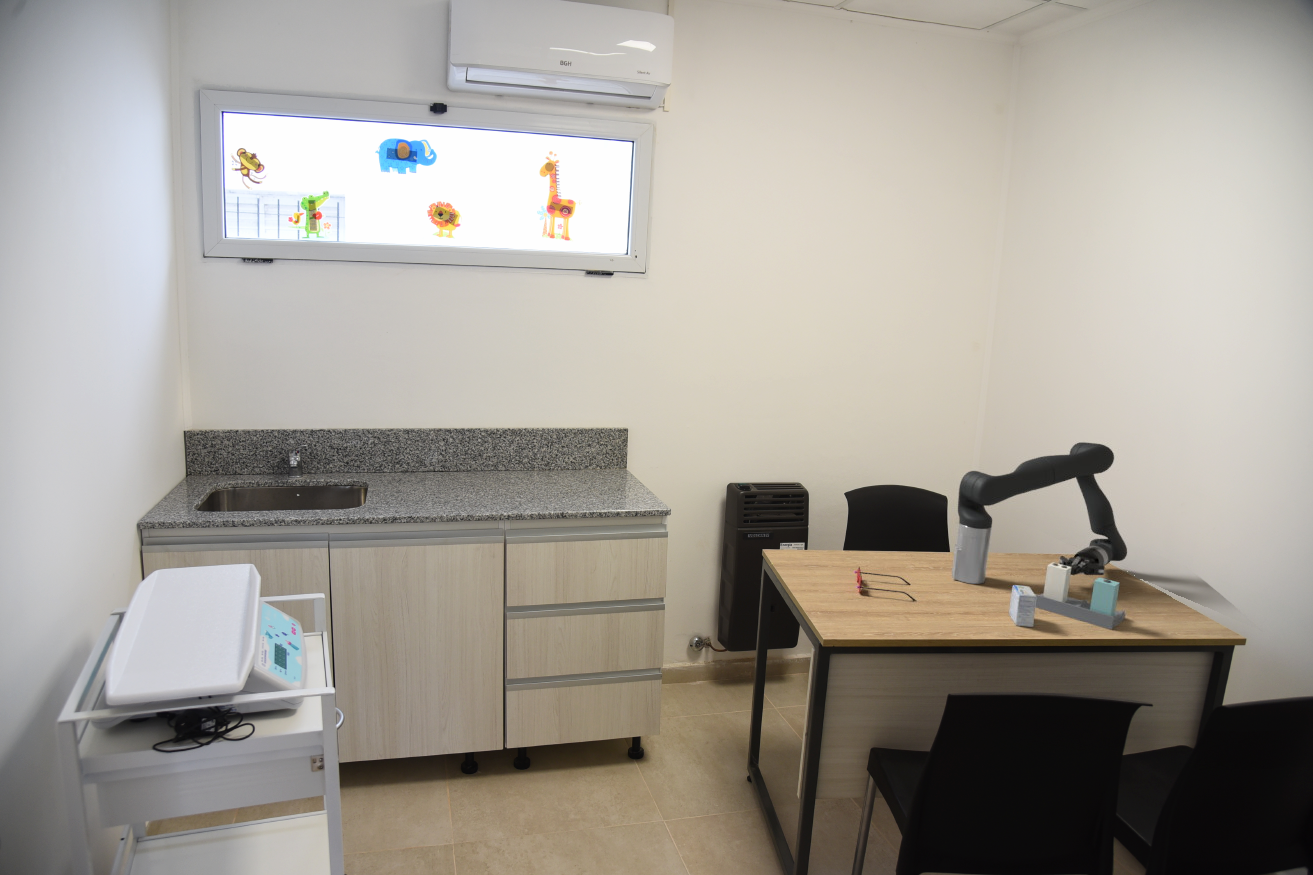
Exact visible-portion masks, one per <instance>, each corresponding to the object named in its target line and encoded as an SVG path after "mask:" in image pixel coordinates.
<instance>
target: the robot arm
mask: <svg viewBox="0 0 1313 875" xmlns="http://www.w3.org/2000/svg"><path fill="white" fill-rule="evenodd" d="M1114 460H1115V455H1114V452H1113V450H1112V449H1111V448H1110V447H1108V445H1105V444H1101V443H1095V442H1093V443H1092V442H1085V441H1084V442H1083V441H1082V442H1077V443H1075V444H1074V445H1072V447H1071V448H1070V451H1069V454H1057V455H1056V454H1054V455H1044V456H1039V457H1036V458H1035V457H1034V458H1032V459H1029V460H1025V461H1023V462H1021V463H1020V464H1019V465H1018V466H1017V467H1016V468H1015V469H1014V471H1013V472H1009V473H1005V474H1001V475H990V474H988V473H984V472H981V471H977V470H971V471H968V472H966V473H965V474H964V475H963V477H962V478H961V481H960V484H959V488H958V497H957V498H958V499H957V500H958V501H957V513H958V517H959V520H958V521H959V522H958V528H957V536H956V544H955V546H954V553H953V561H952V570H951V576H952V578H953V580H955V581H959V582H961V583H967V584H974V585H975V584H976V585H978V584H979V585H981V584H984V583H985V580H986V574H987V564H988V557H989V549H990V541H991V534H992V527H993V517H992V516H991V515H990V514H989V513H988V511H987V510H986V508H985V506H988V507H989V506H994V505H996V504H999V503H1001V502H1003V501H1006V500H1007V499H1010V498H1012V497H1015V496H1018V495H1022V494H1025V493H1028V492H1032V491H1036V490H1040V489H1043V488H1047V487H1048V488H1049V487H1051V486H1054V485H1056V484H1059V483H1064V482H1066V481H1069V480H1073V479H1076V481H1077V484H1078V487H1079V490H1080V492H1081V494H1082V496H1083V500H1084V503H1085V506H1086V510H1087V515H1088V519H1089V525H1090V530H1091V532H1092V533H1094V534H1096V535H1098V536H1099V535H1100V536H1103V537H1105V538H1095V539H1092V540H1090V542H1089V546H1087V547H1084V548H1083V549H1080V550H1079V551H1078V552H1075V554H1074V556H1071V557H1069V558H1068V557H1065V556H1064V555H1060V556H1059V563H1058V564H1061V565H1065V566H1069V567H1072V568H1071V574H1070V576H1075V575H1081V574H1083V575H1085V576H1104V573H1105V568H1106V566H1107V565H1108V564H1110V562H1120V561H1121V562H1122V561H1123V560H1125V559H1126V557H1127V555H1128V548H1127V544H1126V543H1125V541H1124V539H1123V537H1122V536H1121V534H1120V532H1119V530H1118V527H1117V525H1116V520H1115V515H1114V510H1113V507H1112V505H1111V503H1110V501H1109V499H1108V497H1107V496H1106V494H1105V493H1104V492H1103V490H1102V488H1101V487H1100V485H1099V484H1098V482H1097V479H1096V477H1095V475H1097V474H1102V473H1105V472H1107V471H1108V470H1109V469H1110V468H1111V467H1112V465H1113V464H1114Z"/></svg>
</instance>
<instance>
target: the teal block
mask: <svg viewBox="0 0 1313 875" xmlns="http://www.w3.org/2000/svg"><path fill="white" fill-rule="evenodd" d="M1119 590H1120V582H1118V581H1115V580H1111V579H1106V578H1103V577H1098V578H1096V579H1095V580H1093V588H1092V594H1091V595H1092V596H1091V599H1090V600H1091V602H1090V603H1091V607H1090V610H1092V611H1096V612H1099V613H1103V614H1106V615H1110V616H1113V617H1114V615H1115V610H1116V609H1117V602H1118V598H1119V597H1118V595H1119Z"/></svg>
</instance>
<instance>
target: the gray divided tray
mask: <svg viewBox="0 0 1313 875" xmlns="http://www.w3.org/2000/svg"><path fill="white" fill-rule="evenodd" d="M1034 594H1035V595H1036V597H1037V599H1036V607H1035V609H1041V610H1043V611H1048V612H1050V613H1054V614H1057V615H1061V616H1064V617H1066V618H1070V619H1074V620H1077V621H1080V622H1084V623H1087V624H1091V625H1093V626H1097V627H1101V628H1104V629H1108V630H1112V631H1113V629H1115V627H1116V626H1118V625H1119V624H1121V623H1122V622H1123V621H1124V620H1125V619H1126V614H1127V613H1126V611H1125V610H1124V609H1122V610H1120V611H1119V610H1116V609H1115V615H1114V617H1113V616H1110V615H1106V614H1103V613H1099V612H1096V611H1092V610H1090V607H1091V602H1089V601H1088V600H1087V599H1085V598H1083V599H1082V600H1079V599H1077V598H1073V597H1070V596H1067V601H1066V602H1061V601H1057V600H1054V599H1051V598H1047V597H1044V596H1043V595H1044V592H1043V593H1041V594H1036V593H1034Z"/></svg>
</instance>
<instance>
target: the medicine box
mask: <svg viewBox="0 0 1313 875" xmlns="http://www.w3.org/2000/svg"><path fill="white" fill-rule="evenodd" d="M1035 594H1036V593H1035V592H1033V590H1032V588H1031V587H1030V586H1027V585H1017V584H1014V585H1012V588H1011V595H1010V604H1009V610H1008V611H1009V612H1008V614H1009V616H1010V617H1011V619H1012V622H1014V624H1015V626H1016V627H1025V628H1026V627H1027V628H1033V627H1034V620H1035V615H1036V599H1037V597H1036V595H1035Z"/></svg>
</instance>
